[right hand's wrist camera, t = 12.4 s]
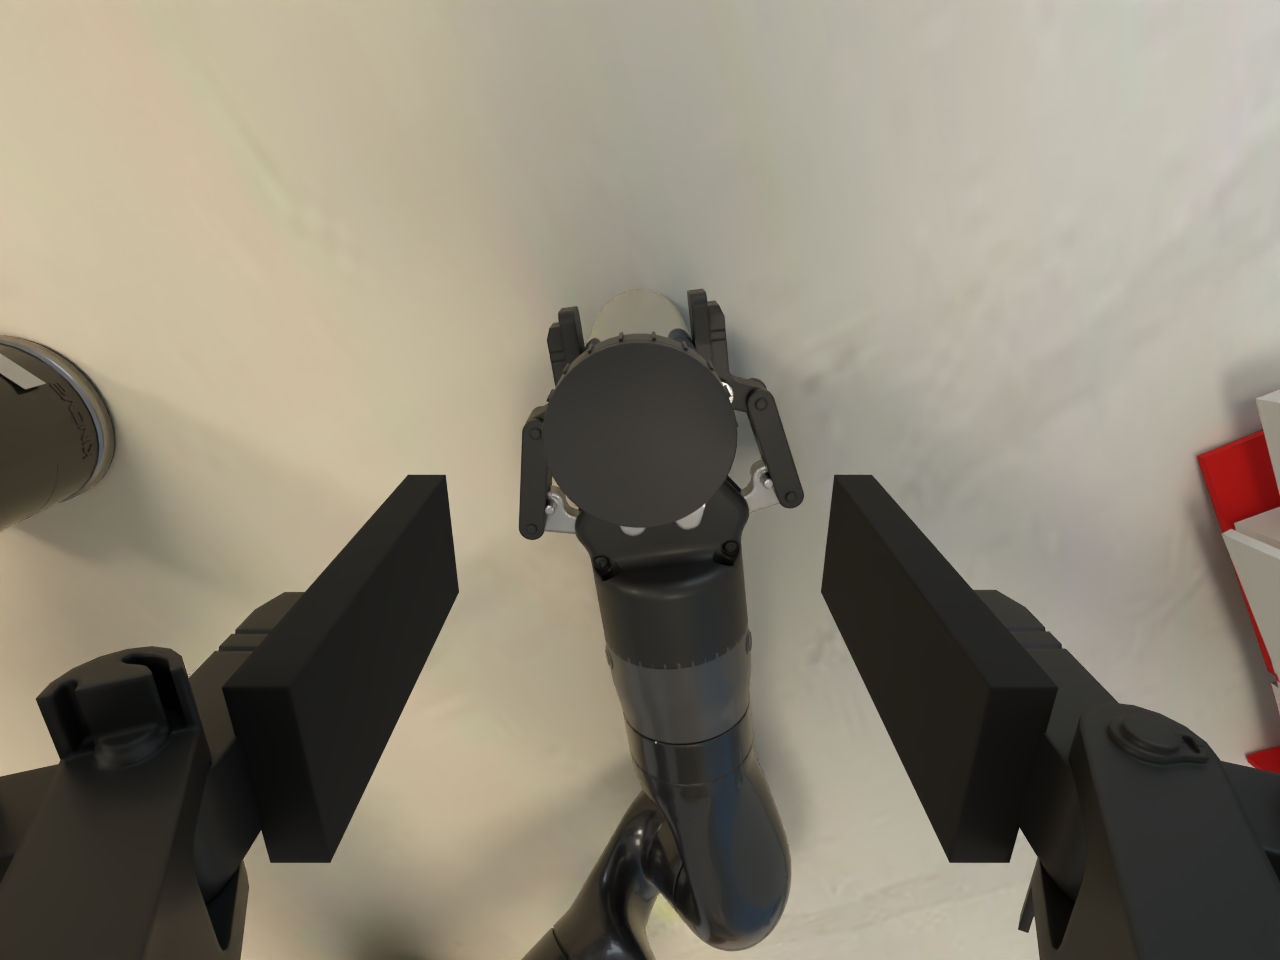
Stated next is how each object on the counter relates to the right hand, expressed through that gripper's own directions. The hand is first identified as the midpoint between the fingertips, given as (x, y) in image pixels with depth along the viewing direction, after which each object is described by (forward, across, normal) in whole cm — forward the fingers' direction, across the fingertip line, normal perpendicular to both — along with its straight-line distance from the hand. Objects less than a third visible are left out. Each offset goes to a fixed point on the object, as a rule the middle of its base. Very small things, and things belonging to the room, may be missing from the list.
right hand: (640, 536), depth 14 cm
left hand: (+18, 0, -3) cm, 18 cm away
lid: (+7, 0, 0) cm, 7 cm away
